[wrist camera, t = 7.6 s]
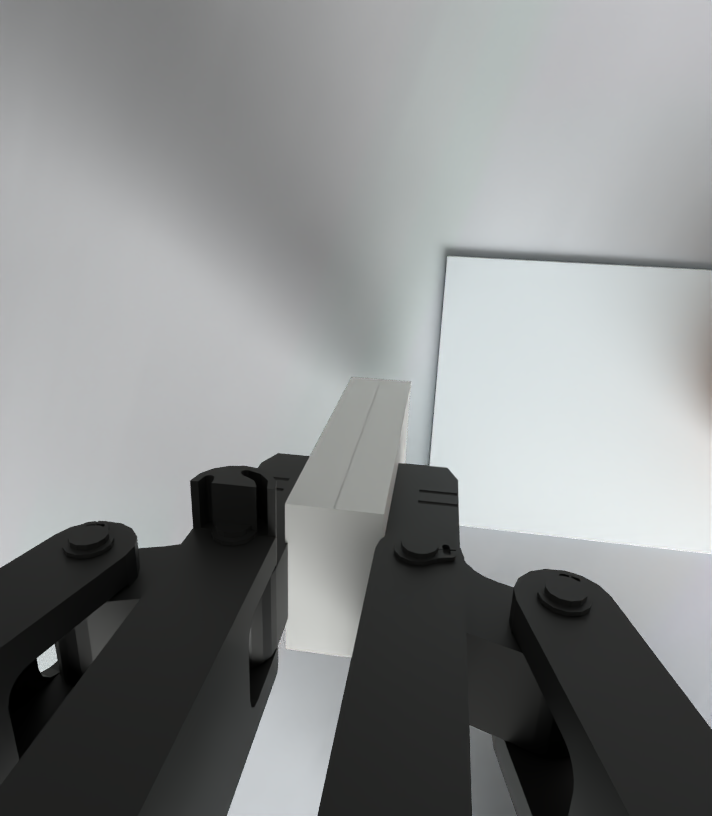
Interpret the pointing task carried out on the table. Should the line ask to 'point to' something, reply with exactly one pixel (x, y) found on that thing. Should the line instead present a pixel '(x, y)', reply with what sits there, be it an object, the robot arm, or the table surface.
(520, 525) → the white square tile
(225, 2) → the table surface
